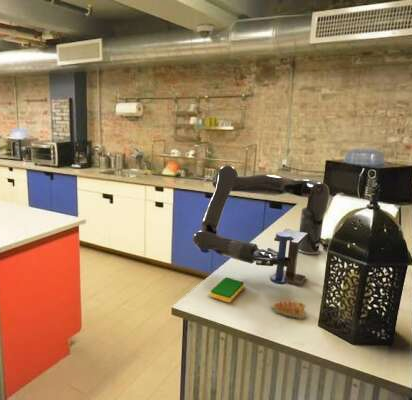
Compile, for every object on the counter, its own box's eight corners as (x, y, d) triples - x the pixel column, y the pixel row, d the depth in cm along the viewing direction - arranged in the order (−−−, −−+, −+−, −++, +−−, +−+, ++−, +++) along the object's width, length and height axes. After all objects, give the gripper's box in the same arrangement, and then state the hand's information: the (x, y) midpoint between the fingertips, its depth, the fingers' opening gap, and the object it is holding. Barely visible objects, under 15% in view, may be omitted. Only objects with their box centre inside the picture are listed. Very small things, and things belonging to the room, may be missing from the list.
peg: (273, 276, 138) (278, 230, 134) (289, 280, 135) (294, 233, 131) (268, 281, 134) (273, 234, 130) (284, 286, 131) (289, 238, 126)
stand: (279, 271, 151) (284, 227, 147) (305, 278, 145) (311, 232, 141) (266, 284, 140) (271, 237, 135) (294, 293, 134) (300, 243, 129)
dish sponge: (243, 288, 137) (244, 282, 137) (229, 303, 127) (229, 296, 126) (225, 282, 141) (226, 276, 141) (210, 296, 131) (210, 290, 130)
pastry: (274, 315, 119) (275, 304, 118) (272, 305, 125) (273, 295, 125) (305, 320, 117) (307, 309, 116) (302, 309, 123) (303, 299, 122)
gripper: (235, 246, 135) (284, 258, 125) (250, 237, 146) (296, 247, 135) (234, 266, 137) (282, 279, 126) (248, 254, 147) (294, 266, 137)
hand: (289, 262), depth 131 cm, fingers closed on peg, 2 cm apart
